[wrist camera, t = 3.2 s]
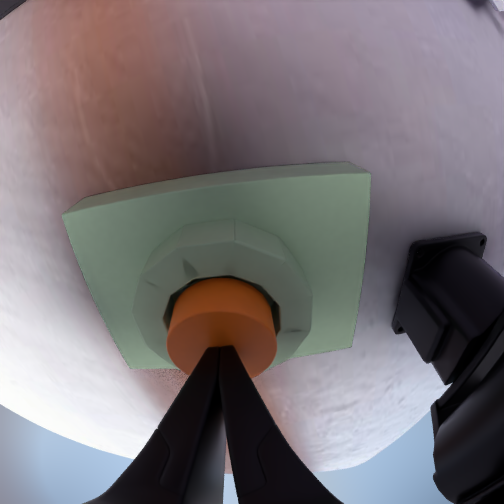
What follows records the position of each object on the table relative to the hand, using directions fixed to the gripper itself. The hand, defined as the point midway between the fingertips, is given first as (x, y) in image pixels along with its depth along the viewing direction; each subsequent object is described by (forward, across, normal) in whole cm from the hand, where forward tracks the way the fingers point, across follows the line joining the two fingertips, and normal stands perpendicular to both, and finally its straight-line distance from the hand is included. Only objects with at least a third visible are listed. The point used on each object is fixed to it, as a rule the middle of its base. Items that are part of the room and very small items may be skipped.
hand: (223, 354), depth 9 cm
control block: (+5, 0, 0) cm, 5 cm away
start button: (+2, 0, 0) cm, 2 cm away
